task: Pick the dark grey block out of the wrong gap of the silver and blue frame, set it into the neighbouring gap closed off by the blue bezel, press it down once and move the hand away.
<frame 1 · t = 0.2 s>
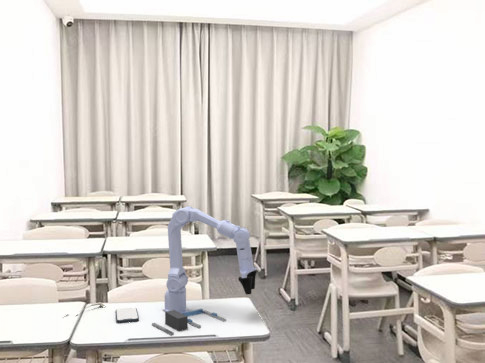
hand: (250, 291, 200), 11 cm above the table, tool pointing down, fingers open, 7 cm apart
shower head: (84, 313, 208), on the table
dark grey block: (176, 327, 190), on the table
silver and blue frame: (189, 323, 194), on the table
phone case: (126, 317, 202), on the table
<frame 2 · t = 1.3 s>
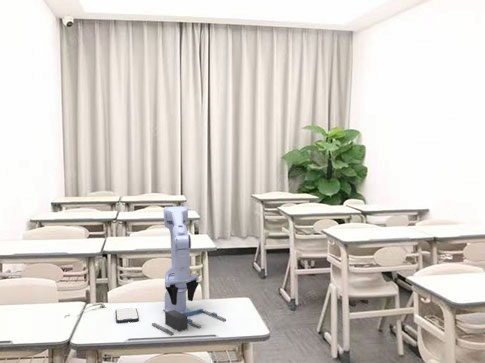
hand: (182, 302, 189), 10 cm above the table, tool pointing down, fingers open, 7 cm apart
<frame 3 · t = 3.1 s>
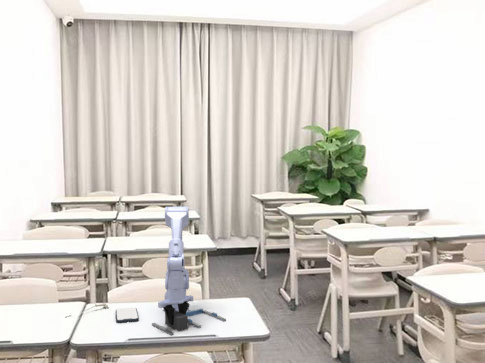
hand: (176, 322, 190), 1 cm above the table, tool pointing down, fingers closed on dark grey block, 4 cm apart
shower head: (87, 314, 207), on the table
dark grey block: (176, 326, 190), on the table, touching gripper
everything else where it was.
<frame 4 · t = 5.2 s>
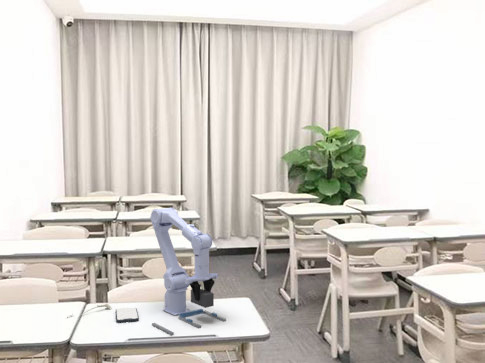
hand: (201, 299, 197), 8 cm above the table, tool pointing down, fingers closed on dark grey block, 4 cm apart
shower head: (89, 314, 206), on the table
dark grey block: (202, 303, 197), point 6 cm above the table, touching gripper
everything else where it was.
when the fingers open (3 cm above the table, at t = 6.6 s): dark grey block drops 1 cm, on the table.
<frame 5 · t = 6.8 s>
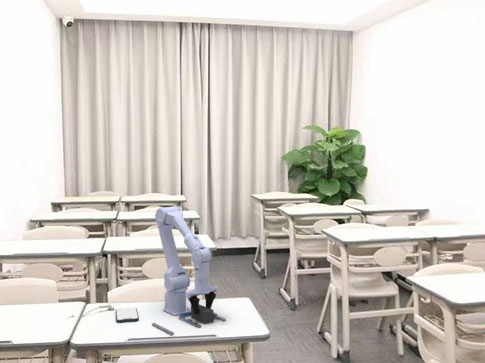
hand: (202, 312, 198), 3 cm above the table, tool pointing down, fingers open, 5 cm apart
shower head: (91, 315, 205), on the table
dark grey block: (202, 320, 198), on the table
everything else where it was.
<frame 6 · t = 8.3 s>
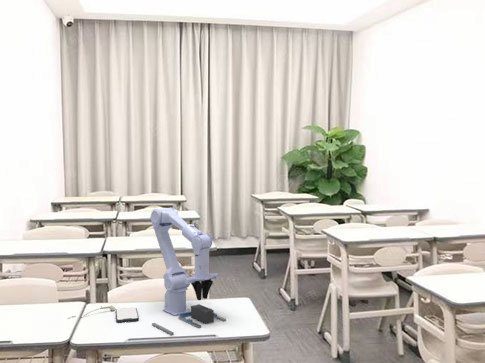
hand: (202, 299, 197), 8 cm above the table, tool pointing down, fingers closed
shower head: (92, 315, 205), on the table
everything else where it was.
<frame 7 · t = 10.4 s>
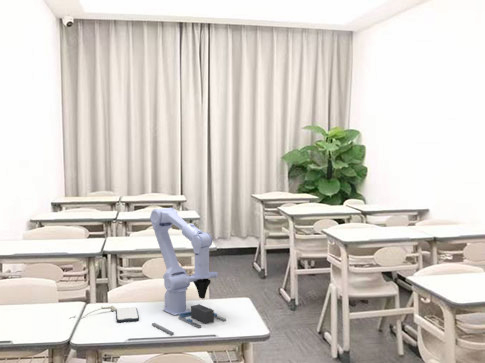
hand: (201, 297, 197), 9 cm above the table, tool pointing down, fingers closed
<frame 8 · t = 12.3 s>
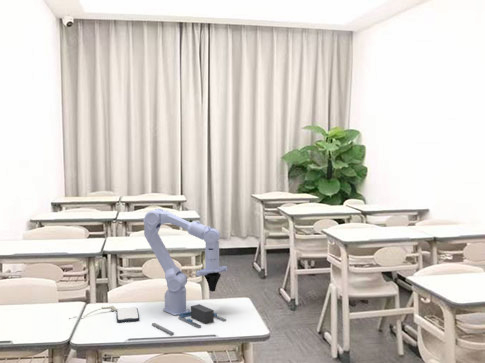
hand: (212, 290, 205), 9 cm above the table, tool pointing down, fingers closed
nothing on the table moved.
at the end: dark grey block 0.1 cm from the target spot, on the table; dark grey block tilted 0°; the gripper is holding nothing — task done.
